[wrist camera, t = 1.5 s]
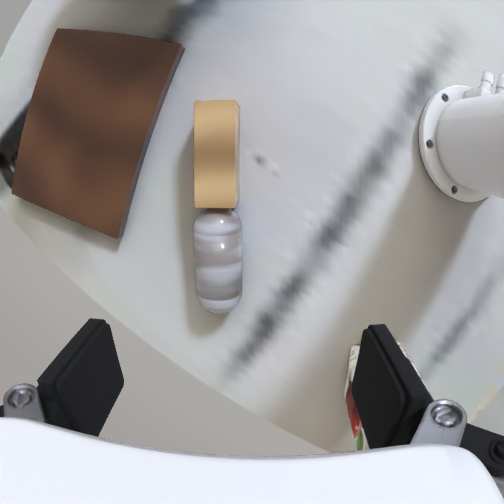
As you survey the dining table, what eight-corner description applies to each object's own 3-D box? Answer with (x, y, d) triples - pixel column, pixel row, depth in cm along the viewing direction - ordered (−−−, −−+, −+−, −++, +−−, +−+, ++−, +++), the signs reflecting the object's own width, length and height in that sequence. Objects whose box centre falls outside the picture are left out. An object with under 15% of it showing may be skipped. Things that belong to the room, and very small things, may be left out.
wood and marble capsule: (198, 107, 27) (187, 100, 23) (245, 106, 27) (241, 98, 23) (202, 299, 33) (193, 320, 29) (243, 301, 33) (240, 322, 29)
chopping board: (63, 31, 24) (57, 28, 23) (185, 48, 25) (181, 44, 24) (18, 191, 30) (11, 193, 29) (123, 235, 31) (117, 239, 30)
